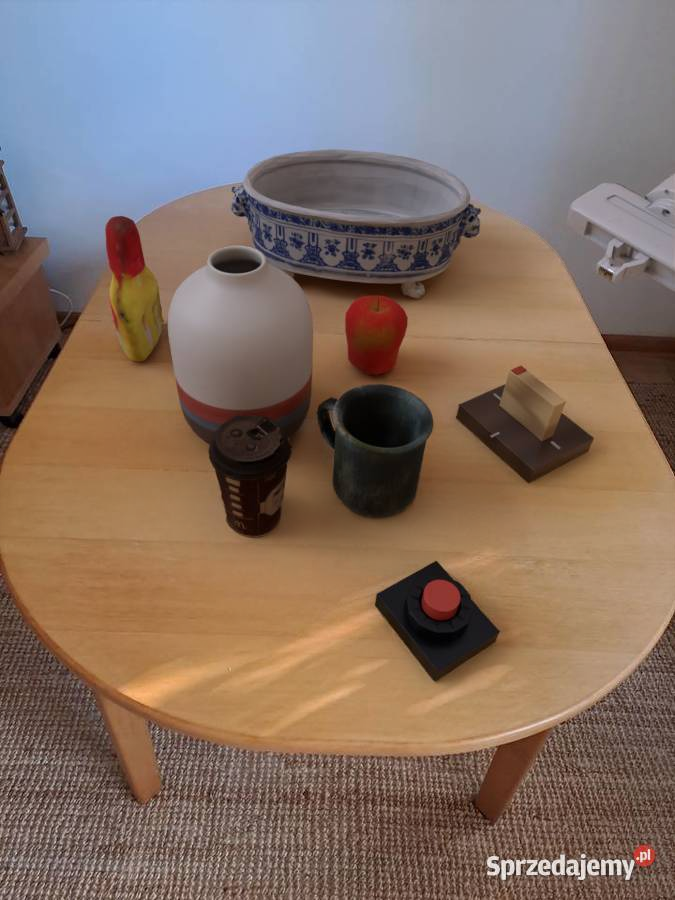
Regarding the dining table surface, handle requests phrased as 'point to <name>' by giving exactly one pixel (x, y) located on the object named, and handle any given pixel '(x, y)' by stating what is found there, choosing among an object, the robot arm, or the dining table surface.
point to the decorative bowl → (356, 216)
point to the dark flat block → (521, 437)
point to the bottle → (132, 290)
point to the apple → (374, 333)
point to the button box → (435, 623)
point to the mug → (376, 446)
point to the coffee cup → (251, 472)
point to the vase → (241, 343)
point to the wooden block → (532, 403)
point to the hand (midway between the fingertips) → (605, 274)
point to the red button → (440, 600)
